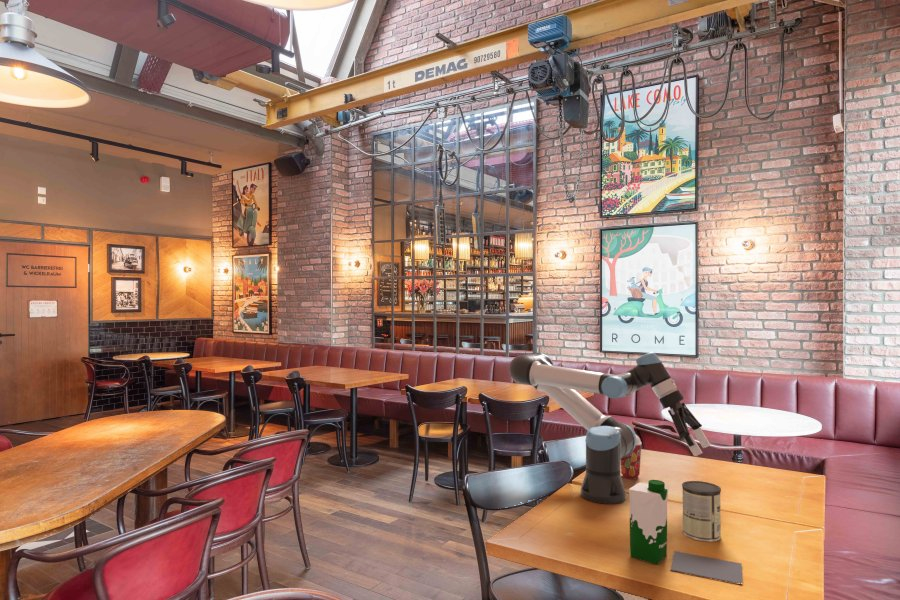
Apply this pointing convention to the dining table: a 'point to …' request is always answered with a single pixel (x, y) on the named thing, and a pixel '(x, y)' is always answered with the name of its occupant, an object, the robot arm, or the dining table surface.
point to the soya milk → (648, 521)
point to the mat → (707, 567)
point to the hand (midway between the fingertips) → (702, 450)
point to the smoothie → (632, 462)
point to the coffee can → (701, 511)
